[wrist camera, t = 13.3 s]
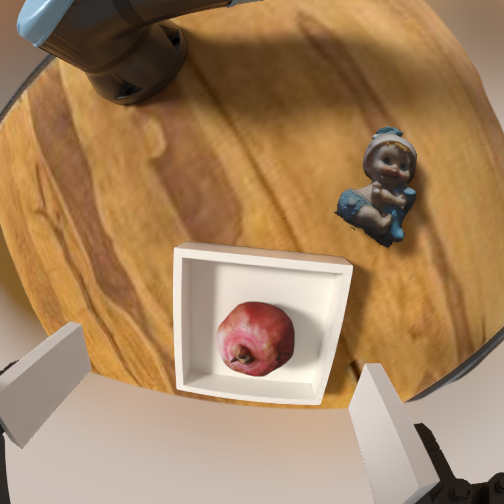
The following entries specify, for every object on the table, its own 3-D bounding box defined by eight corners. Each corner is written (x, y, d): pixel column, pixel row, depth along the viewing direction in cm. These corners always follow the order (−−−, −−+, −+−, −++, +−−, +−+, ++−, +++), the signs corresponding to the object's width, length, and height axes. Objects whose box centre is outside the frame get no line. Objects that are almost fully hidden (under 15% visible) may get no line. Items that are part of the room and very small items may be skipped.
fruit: (306, 330, 35) (317, 373, 25) (250, 365, 36) (243, 412, 26) (265, 277, 34) (263, 307, 24) (208, 317, 35) (187, 356, 26)
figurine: (323, 224, 27) (381, 101, 23) (330, 220, 35) (376, 123, 30) (395, 265, 25) (451, 141, 21) (386, 252, 33) (432, 154, 28)
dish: (186, 370, 38) (176, 389, 34) (187, 241, 35) (174, 247, 30) (315, 384, 37) (320, 404, 32) (342, 256, 34) (353, 265, 29)
